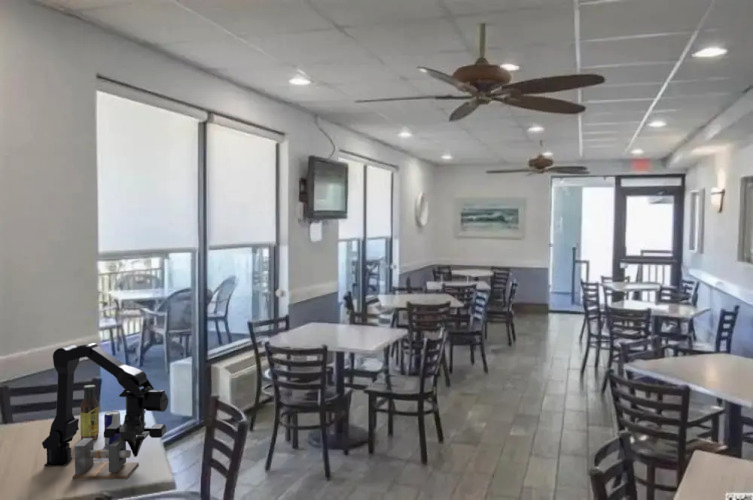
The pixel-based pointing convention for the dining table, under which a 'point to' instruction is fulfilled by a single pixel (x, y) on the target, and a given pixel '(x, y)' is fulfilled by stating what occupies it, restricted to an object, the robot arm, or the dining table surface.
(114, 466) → the grey flat block
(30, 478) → the dining table surface
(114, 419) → the energy drink
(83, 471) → the pipe fixture
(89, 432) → the sauce bottle
